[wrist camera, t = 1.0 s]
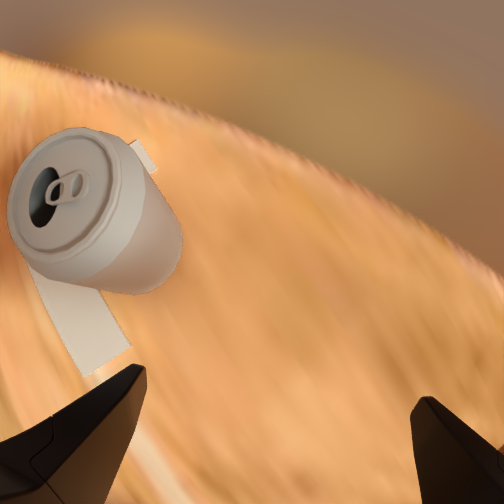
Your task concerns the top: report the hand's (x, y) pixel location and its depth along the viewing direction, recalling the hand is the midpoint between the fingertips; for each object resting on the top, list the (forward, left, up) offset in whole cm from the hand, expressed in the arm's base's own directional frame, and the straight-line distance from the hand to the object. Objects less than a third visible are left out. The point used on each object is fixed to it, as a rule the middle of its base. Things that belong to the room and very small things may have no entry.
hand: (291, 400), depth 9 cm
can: (-3, +11, -13) cm, 18 cm away
